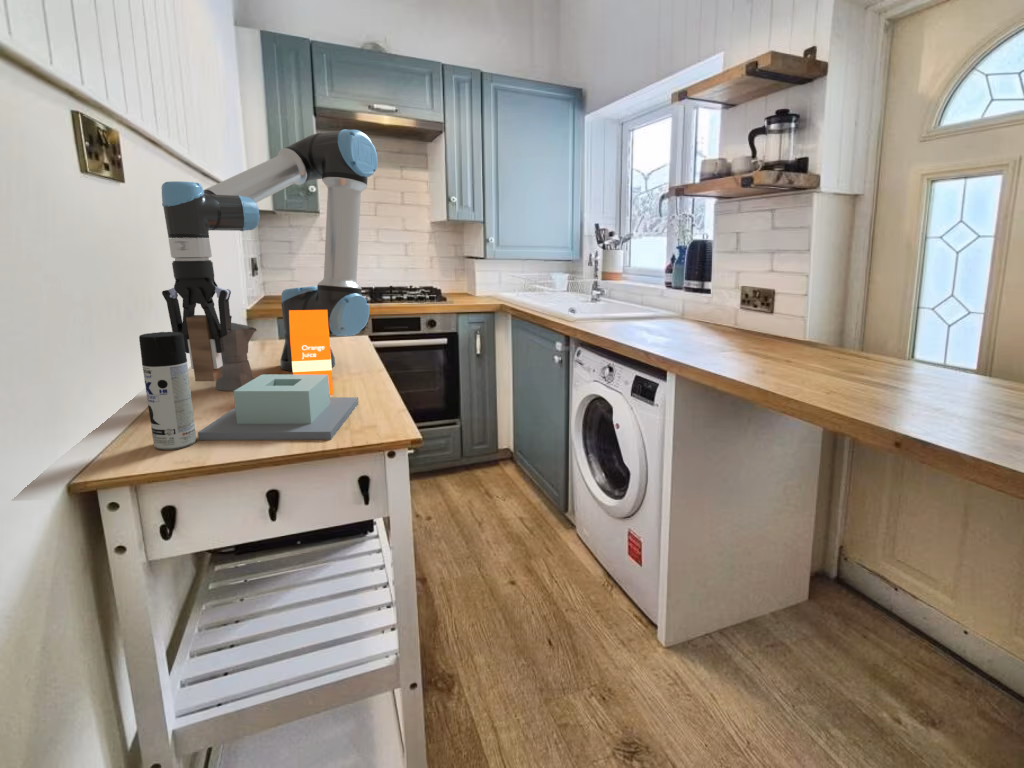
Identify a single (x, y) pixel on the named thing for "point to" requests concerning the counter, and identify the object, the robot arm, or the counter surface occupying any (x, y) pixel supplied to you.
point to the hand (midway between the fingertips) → (207, 367)
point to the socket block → (282, 410)
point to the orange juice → (310, 343)
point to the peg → (201, 349)
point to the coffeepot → (235, 358)
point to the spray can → (168, 390)
